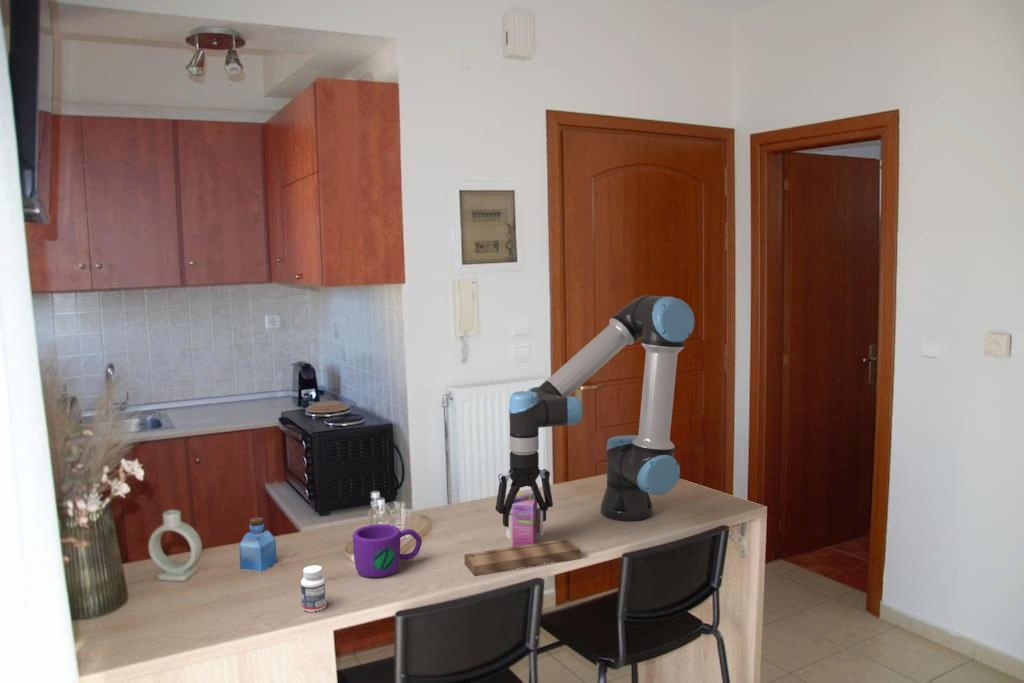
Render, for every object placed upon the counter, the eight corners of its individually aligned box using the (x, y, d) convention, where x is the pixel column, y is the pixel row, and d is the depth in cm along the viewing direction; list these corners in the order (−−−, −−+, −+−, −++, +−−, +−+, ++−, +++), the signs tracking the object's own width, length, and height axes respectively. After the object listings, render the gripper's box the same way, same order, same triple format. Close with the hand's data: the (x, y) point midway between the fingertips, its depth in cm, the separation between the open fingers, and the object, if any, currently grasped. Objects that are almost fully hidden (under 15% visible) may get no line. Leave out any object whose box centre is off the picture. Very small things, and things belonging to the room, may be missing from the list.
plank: (566, 547, 209) (566, 538, 208) (580, 558, 201) (580, 548, 201) (464, 563, 199) (464, 553, 198) (474, 576, 191) (474, 565, 191)
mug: (362, 584, 187) (361, 543, 186) (348, 567, 197) (346, 528, 196) (431, 569, 196) (430, 529, 195) (413, 554, 206) (412, 516, 204)
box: (534, 549, 205) (533, 505, 204) (512, 549, 206) (511, 504, 205) (538, 535, 216) (537, 493, 214) (517, 534, 216) (516, 492, 215)
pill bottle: (304, 602, 178) (302, 564, 177) (327, 601, 178) (326, 563, 177) (300, 613, 173) (298, 574, 172) (324, 612, 173) (322, 572, 172)
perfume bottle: (276, 562, 201) (274, 516, 199) (261, 572, 195) (259, 525, 194) (256, 560, 203) (253, 514, 201) (240, 569, 197) (237, 522, 196)
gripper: (554, 444, 214) (554, 525, 217) (481, 451, 207) (482, 536, 210) (566, 450, 208) (566, 534, 210) (491, 458, 200) (492, 545, 203)
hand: (524, 535), depth 210 cm, fingers closed on box, 8 cm apart
